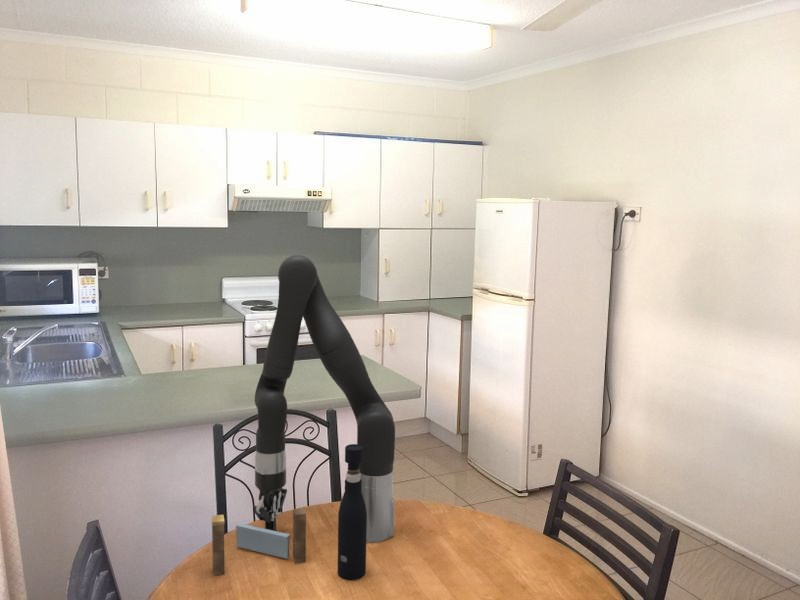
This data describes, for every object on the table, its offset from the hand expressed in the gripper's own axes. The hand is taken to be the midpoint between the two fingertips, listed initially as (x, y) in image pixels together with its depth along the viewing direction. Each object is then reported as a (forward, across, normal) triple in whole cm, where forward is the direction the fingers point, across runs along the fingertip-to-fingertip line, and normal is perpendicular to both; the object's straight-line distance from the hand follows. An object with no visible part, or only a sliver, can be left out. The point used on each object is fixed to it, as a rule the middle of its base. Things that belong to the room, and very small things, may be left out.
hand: (270, 532), depth 168 cm
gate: (+1, +7, +2) cm, 7 cm away
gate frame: (+2, +12, +4) cm, 13 cm away
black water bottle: (+2, +7, +25) cm, 26 cm away
